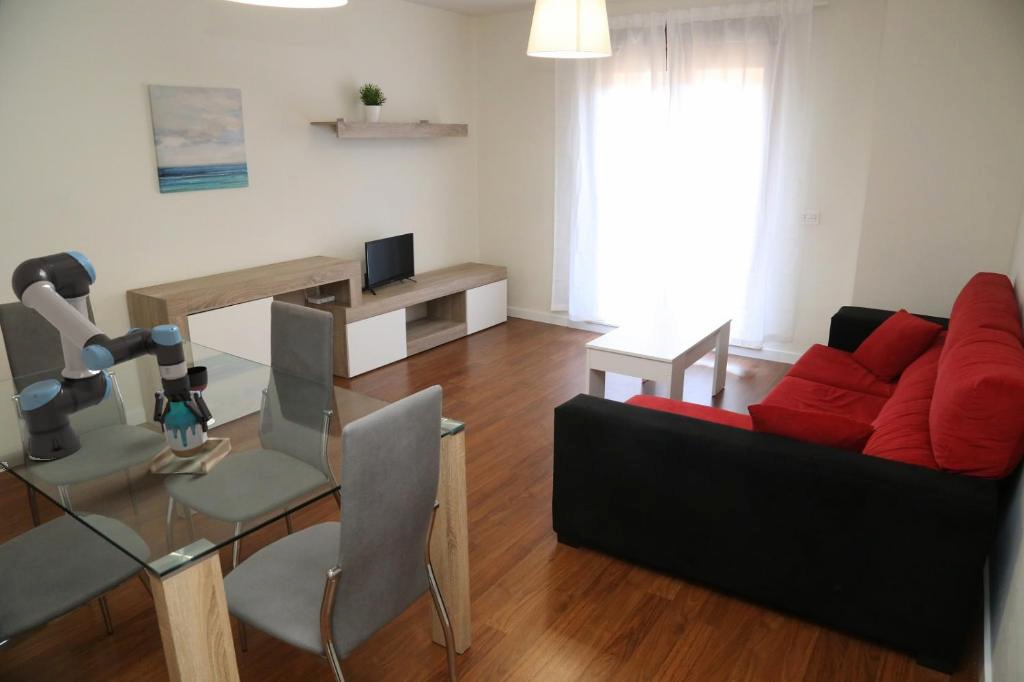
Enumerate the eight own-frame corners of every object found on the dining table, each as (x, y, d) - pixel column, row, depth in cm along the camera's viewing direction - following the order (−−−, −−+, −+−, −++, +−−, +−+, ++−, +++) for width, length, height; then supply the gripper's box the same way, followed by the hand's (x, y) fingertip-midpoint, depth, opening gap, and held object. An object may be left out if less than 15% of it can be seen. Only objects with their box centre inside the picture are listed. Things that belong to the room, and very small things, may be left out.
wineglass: (221, 419, 251) (211, 367, 245) (202, 429, 244) (191, 376, 238) (205, 416, 255) (195, 365, 248) (185, 425, 247) (175, 373, 241)
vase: (194, 464, 214) (183, 407, 208) (164, 461, 216) (152, 405, 210) (215, 448, 224) (204, 393, 218) (186, 446, 226) (174, 391, 220)
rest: (151, 473, 215) (148, 461, 213) (179, 448, 230) (177, 437, 229) (207, 473, 213) (205, 462, 212) (232, 448, 229) (230, 437, 228)
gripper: (131, 380, 209) (145, 446, 216) (204, 379, 207) (216, 446, 214) (145, 371, 216) (159, 435, 223) (216, 370, 214) (228, 435, 221)
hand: (187, 441), depth 219 cm, fingers closed on vase, 10 cm apart
